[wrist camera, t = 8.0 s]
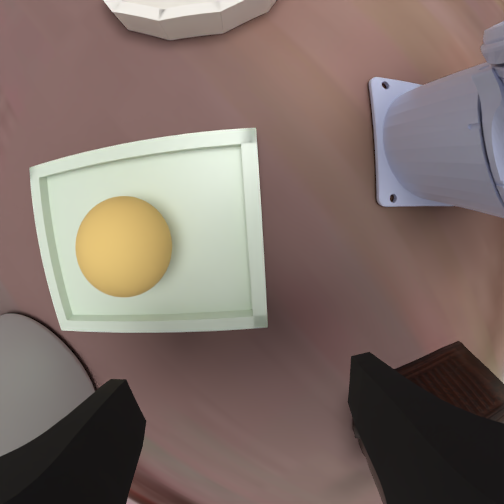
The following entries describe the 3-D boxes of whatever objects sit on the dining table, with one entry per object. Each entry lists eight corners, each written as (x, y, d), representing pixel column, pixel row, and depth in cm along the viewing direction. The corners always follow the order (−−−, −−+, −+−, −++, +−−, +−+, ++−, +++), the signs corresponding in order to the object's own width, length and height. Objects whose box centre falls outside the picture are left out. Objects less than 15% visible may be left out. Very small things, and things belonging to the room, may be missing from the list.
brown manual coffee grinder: (346, 386, 20) (431, 592, 3) (460, 337, 20) (586, 468, 3) (354, 473, 24) (394, 598, 7) (440, 437, 24) (501, 541, 7)
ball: (179, 190, 16) (153, 199, 11) (183, 277, 17) (163, 317, 12) (98, 194, 15) (51, 205, 11) (106, 276, 17) (67, 311, 12)
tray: (254, 131, 15) (255, 127, 14) (265, 315, 18) (267, 327, 17) (42, 166, 15) (29, 167, 14) (71, 320, 18) (61, 330, 17)
